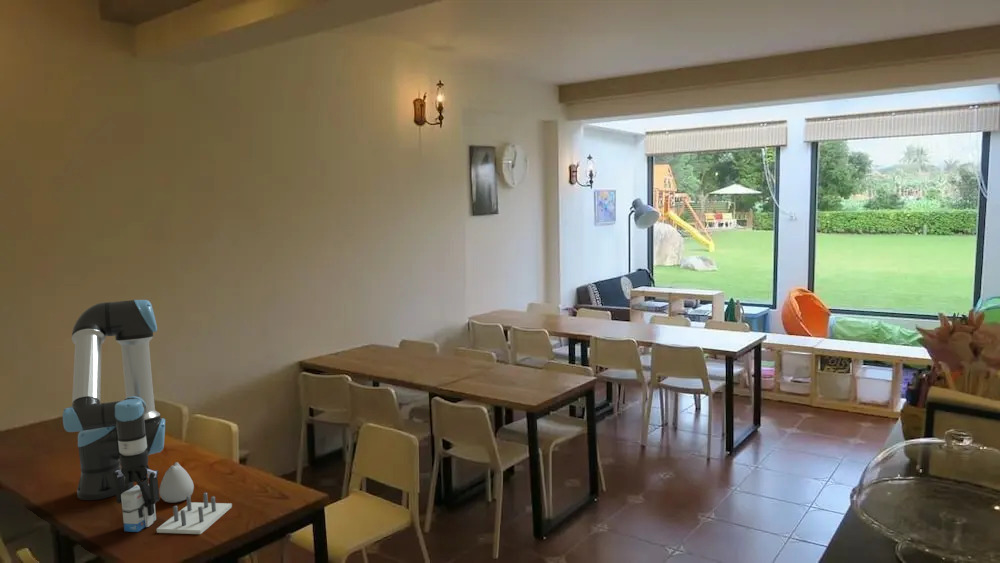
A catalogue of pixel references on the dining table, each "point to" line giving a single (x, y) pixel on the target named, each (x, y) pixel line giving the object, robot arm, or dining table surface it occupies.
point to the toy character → (176, 484)
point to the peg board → (194, 516)
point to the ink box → (134, 509)
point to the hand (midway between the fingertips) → (140, 524)
